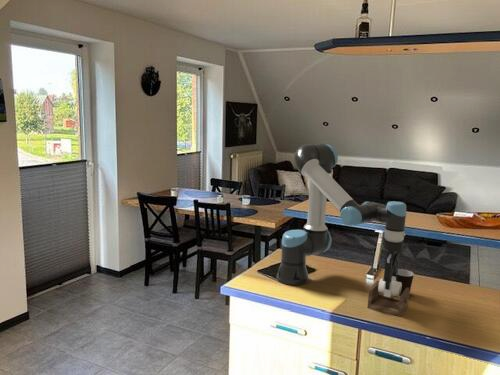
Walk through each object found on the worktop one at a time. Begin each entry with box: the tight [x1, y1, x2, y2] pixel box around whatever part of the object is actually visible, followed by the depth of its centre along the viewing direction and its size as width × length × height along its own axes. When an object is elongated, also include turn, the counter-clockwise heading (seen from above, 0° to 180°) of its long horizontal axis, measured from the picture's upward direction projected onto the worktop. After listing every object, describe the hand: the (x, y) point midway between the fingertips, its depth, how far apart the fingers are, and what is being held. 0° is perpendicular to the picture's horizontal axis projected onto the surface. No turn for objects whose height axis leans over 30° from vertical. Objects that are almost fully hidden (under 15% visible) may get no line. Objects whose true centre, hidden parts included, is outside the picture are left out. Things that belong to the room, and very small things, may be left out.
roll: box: [378, 277, 402, 298], centre depth 174 cm, size 8×6×6 cm
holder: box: [367, 280, 410, 318], centre depth 174 cm, size 14×12×8 cm
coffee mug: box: [395, 268, 415, 296], centre depth 190 cm, size 12×9×10 cm
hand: (389, 293), depth 174 cm, fingers closed on roll, 6 cm apart
